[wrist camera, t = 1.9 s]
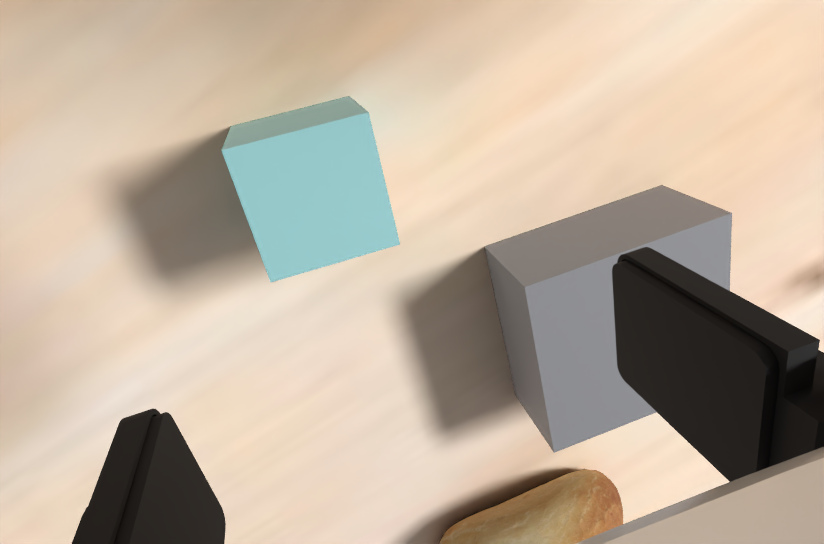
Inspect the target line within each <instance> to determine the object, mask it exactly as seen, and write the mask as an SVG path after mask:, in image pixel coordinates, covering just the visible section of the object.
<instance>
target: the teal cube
mask: <svg viewBox="0 0 824 544" xmlns="http://www.w3.org/2000/svg"><path fill="white" fill-rule="evenodd" d="M221 151H222V153H223V156H224V159H225V161H226V164H227V167H228V170H229V172H230V175H231V178H232V180H233V183H234V186H235V188H236V191H237V194H238V196H239V199H240V202H241V204H242V207H243V210H244V212H245V215H246V218H247V220H248V223H249V226H250V228H251V231H252V234H253V236H254V239H255V242H256V244H257V247H258V250H259V252H260V255H261V258H262V260H263V263H264V266H265V268H266V271H267V274H268V276H269V279H270V282H274V281H277V280H280V279H284V278H287V277H291V276H294V275H297V274H301V273H304V272H308V271H311V270H314V269H318V268H321V267H325V266H328V265H331V264H335V263H338V262H342V261H345V260H348V259H352V258H355V257H359V256H362V255H365V254H369V253H372V252H376V251H379V250H382V249H386V248H389V247H393V246H396V245H400V242H399V238H398V234H397V229H396V225H395V221H394V217H393V213H392V209H391V204H390V200H389V196H388V192H387V188H386V183H385V179H384V175H383V171H382V167H381V163H380V158H379V154H378V150H377V146H376V142H375V137H374V133H373V129H372V125H371V121H370V116H369V112H368V111H366V110H365V109H364V108H363V107H362V106H360V105H359V104H358V103H357V102H356V101H354V100H353V99H352V98H351V97H350V96H348V97H344V98H340V99H336V100H332V101H328V102H324V103H320V104H316V105H312V106H308V107H304V108H300V109H297V110H293V111H289V112H285V113H281V114H277V115H273V116H269V117H265V118H261V119H257V120H253V121H249V122H245V123H241V124H238V125H234V126H231V127H230V130H229V132H228V135H227V137H226V140H225V142H224V145H223V147H222V150H221Z"/></svg>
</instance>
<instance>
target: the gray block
mask: <svg viewBox="0 0 824 544" xmlns="http://www.w3.org/2000/svg"><path fill="white" fill-rule="evenodd" d="M731 227H732V213H730V212H728V211H725V210H723V209H720V208H718V207H715V206H713V205H710V204H708V203H705V202H703V201H700V200H698V199H695V198H693V197H690V196H688V195H685V194H683V193H680V192H678V191H675V190H673V189H670V188H668V187H665V186H663V185H661V186H658V187H655V188H652V189H649V190H646V191H643V192H640V193H638V194H635V195H632V196H629V197H626V198H623V199H620V200H617V201H614V202H611V203H609V204H606V205H603V206H600V207H597V208H594V209H591V210H588V211H585V212H583V213H580V214H577V215H574V216H571V217H568V218H565V219H562V220H559V221H557V222H554V223H551V224H548V225H545V226H542V227H539V228H536V229H533V230H531V231H528V232H525V233H522V234H519V235H516V236H513V237H510V238H507V239H504V240H502V241H499V242H496V243H493V244H490V245H487V246H484V247H485V251H486V256H487V261H488V266H489V271H490V275H491V280H492V285H493V290H494V294H495V299H496V304H497V309H498V313H499V318H500V323H501V328H502V332H503V337H504V342H505V347H506V351H507V356H508V361H509V366H510V370H511V375H512V380H513V385H514V389H515V394H516V397H517V398H518V400H519V401H520V403H521V404H522V406H523V407H524V409H525V410H526V412H527V413H528V415H529V416H530V418H531V419H532V420H533V422H534V423H535V425H536V426H537V428H538V429H539V431H540V432H541V434H542V435H543V437H544V438H545V440H546V441H547V443H548V444H549V446H550V447H551V449H552V450H553V452H557V451H560V450H562V449H565V448H567V447H570V446H572V445H575V444H577V443H580V442H582V441H585V440H587V439H590V438H592V437H595V436H597V435H600V434H603V433H605V432H608V431H610V430H613V429H615V428H618V427H620V426H623V425H625V424H628V423H630V422H633V421H635V420H638V419H640V418H643V417H646V416H648V415H651V414H653V413H656V411H655V410H654V409H653V408H652V407H651V406H650V405H649V404H648V403H647V402H646V401H645V400H644V399H643V398H642V397H641V396H640V395H639V394H637V393H636V392H635V391H634V390H633V389H632V388H631V387H630V386H629V385H628V384H627V383H626V382H625V381H624V380H623V378H622V377H621V375H620V373H619V370H618V367H617V354H616V336H615V317H614V299H613V281H612V268H613V265H614V264H616V263H617V261H618V258H619V256H620V255H622V254H625V253H628V252H631V251H634V250H637V249H640V248H643V247H649V248H652V249H653V250H655V251H657V252H659V253H661V254H663V255H664V256H666V257H668V258H670V259H672V260H674V261H675V262H677V263H679V264H681V265H683V266H685V267H686V268H688V269H690V270H692V271H694V272H696V273H697V274H699V275H701V276H703V277H705V278H707V279H708V280H710V281H712V282H714V283H716V284H718V285H719V286H721V287H723V288H725V289H727V290H729V291H730V260H731Z"/></svg>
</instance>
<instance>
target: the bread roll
mask: <svg viewBox="0 0 824 544" xmlns="http://www.w3.org/2000/svg"><path fill="white" fill-rule="evenodd" d="M620 525H623V509H622V504H621V499H620V496H619V493H618V490H617V488H616V487H615V485H614V484H613V483H612V482H611V480H610V479H608V478H607V477H606V476H605V475H604V474H603V473H601V472H599V471H596V470H587V469H583V470H579V471H574V472H571V473H568V474H565V475H563V476H561V477H559V478H556V479H554V480H552V481H550V482H548V483H545V484H543V485H540V486H538V487H536V488H534V489H531V490H529V491H527V492H525V493H523V494H521V495H518V496H516V497H514V498H512V499H510V500H508V501H505V502H503V503H501V504H499V505H497V506H494V507H491V508H488V509H485V510H483V511H481V512H478V513H476V514H474V515H471V516H469V517H467V518H465V519H463V520H461V521H459V522H457V523H456V524H454V525H453V526H451V527H450V528H449V529H448V530H447V531H446V532H445V534H444V535H443V537H442V539H441V541H440V543H439V544H576V543H578V542H580V541H583V540H585V539H588V538H590V537H593V536H595V535H598V534H600V533H603V532H605V531H608V530H610V529H613V528H615V527H618V526H620Z"/></svg>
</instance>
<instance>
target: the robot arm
mask: <svg viewBox="0 0 824 544" xmlns="http://www.w3.org/2000/svg"><path fill="white" fill-rule="evenodd" d="M612 281H613V299H614V317H615V336H616V354H617V367H618V370H619V373H620V375H621V377H622V378H623V380H624V381H625V382H626V383H627V384H628V385H629V386H630V387H631V388H632V389H633V390H634V391H635V392H636V393H637V394H639V395H640V396H641V397H642V398H643V399H644V400H645V401H646V402H647V403H648V404H649V405H650V406H651V407H652V408H653V409H654V410H655V411H656V412H657V413H658V414H660V415H661V416H662V417H663V418H664V419H665V420H666V421H667V422H668V423H669V424H670V425H671V426H672V427H673V428H674V429H675V430H676V431H677V432H678V433H679V434H680V435H682V436H683V437H684V438H685V439H686V440H687V441H688V442H689V443H690V444H691V445H692V446H693V447H694V448H695V449H696V450H697V451H698V452H699V453H700V454H701V455H703V456H704V457H705V458H706V459H707V460H708V461H709V462H710V463H711V464H712V465H713V466H714V467H715V468H716V469H717V470H718V471H719V472H720V473H721V474H722V475H723V476H725V477H726V478H727V479H728V480H729V481H730V482H729V483H726V484H724V485H721V486H719V487H716V488H714V489H711V490H709V491H706V492H704V493H701V494H699V495H696V496H694V497H691V498H689V499H686V500H683V501H681V502H678V503H676V504H673V505H671V506H668V507H666V508H663V509H661V510H658V511H656V512H653V513H651V514H648V515H646V516H643V517H641V518H638V519H636V520H633V521H630V522H628V523H625V524H623V525H620V526H618V527H615V528H613V529H610V530H608V531H605V532H603V533H600V534H598V535H595V536H593V537H590V538H588V539H585V540H583V541H580V542H578V543H576V544H824V353H823V352H821V351H819V350H818V348H819V341H820V340H819V339H817V338H815V337H813V336H811V335H809V334H808V333H806V332H804V331H802V330H800V329H798V328H797V327H795V326H793V325H791V324H789V323H787V322H786V321H784V320H782V319H780V318H778V317H776V316H775V315H773V314H771V313H769V312H767V311H765V310H764V309H762V308H760V307H758V306H756V305H754V304H753V303H751V302H749V301H747V300H745V299H743V298H741V297H740V296H738V295H736V294H734V293H732V292H730V291H729V290H727V289H725V288H723V287H721V286H719V285H718V284H716V283H714V282H712V281H710V280H708V279H707V278H705V277H703V276H701V275H699V274H697V273H696V272H694V271H692V270H690V269H688V268H686V267H685V266H683V265H681V264H679V263H677V262H675V261H674V260H672V259H670V258H668V257H666V256H664V255H663V254H661V253H659V252H657V251H655V250H653V249H652V248H649V247H643V248H640V249H637V250H634V251H631V252H628V253H625V254H622V255H620V256H619V258H618V261H617V263H616V264H614V265H613V268H612ZM224 539H225V517H224V513H223V510H222V507H221V505H220V504H219V502H218V500H217V498H216V496H215V494H214V493H213V491H212V489H211V487H210V485H209V483H208V482H207V480H206V478H205V476H204V474H203V472H202V471H201V469H200V467H199V465H198V463H197V462H196V460H195V458H194V456H193V454H192V452H191V451H190V449H189V447H188V445H187V443H186V441H185V440H184V438H183V436H182V434H181V432H180V431H179V429H178V427H177V425H176V423H175V421H174V420H173V418H172V416H171V415H170V414H169V413H167V412H166V413H163V414H160V412H159V411H157V410H156V409H150V410H147V411H144V412H141V413H138V414H135V415H132V416H129V417H126V418H124V419H122V420H121V421H120V423H119V425H118V428H117V431H116V433H115V436H114V439H113V441H112V444H111V447H110V449H109V452H108V455H107V457H106V460H105V463H104V465H103V468H102V471H101V473H100V476H99V479H98V481H97V484H96V487H95V490H94V492H93V495H92V498H91V500H90V503H89V506H88V507H87V508H86V510H85V512H84V514H83V515H82V518H81V521H80V523H79V526H78V529H77V531H76V534H75V537H74V539H73V542H72V544H224Z"/></svg>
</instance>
